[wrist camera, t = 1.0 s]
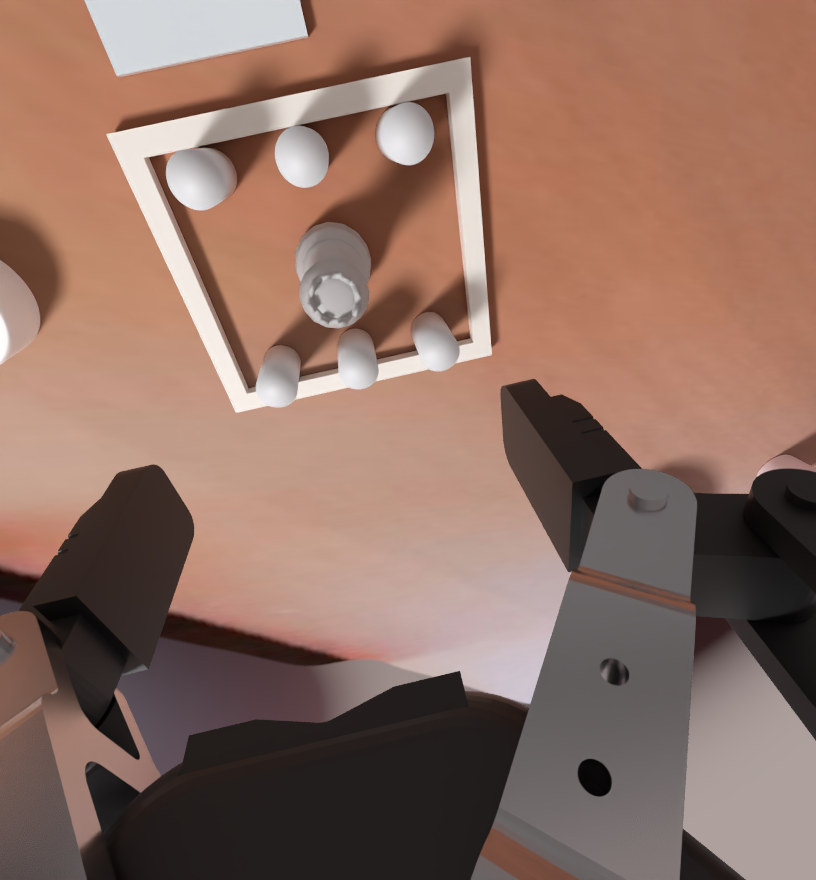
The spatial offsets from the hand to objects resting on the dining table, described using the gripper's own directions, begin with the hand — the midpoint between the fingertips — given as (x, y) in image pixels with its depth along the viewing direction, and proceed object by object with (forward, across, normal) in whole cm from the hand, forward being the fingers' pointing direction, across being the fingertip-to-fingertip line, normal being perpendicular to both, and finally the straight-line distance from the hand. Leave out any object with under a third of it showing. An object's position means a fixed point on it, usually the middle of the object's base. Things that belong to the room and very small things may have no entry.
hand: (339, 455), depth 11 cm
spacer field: (+20, 0, 0) cm, 20 cm away
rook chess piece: (+20, 0, 0) cm, 20 cm away
